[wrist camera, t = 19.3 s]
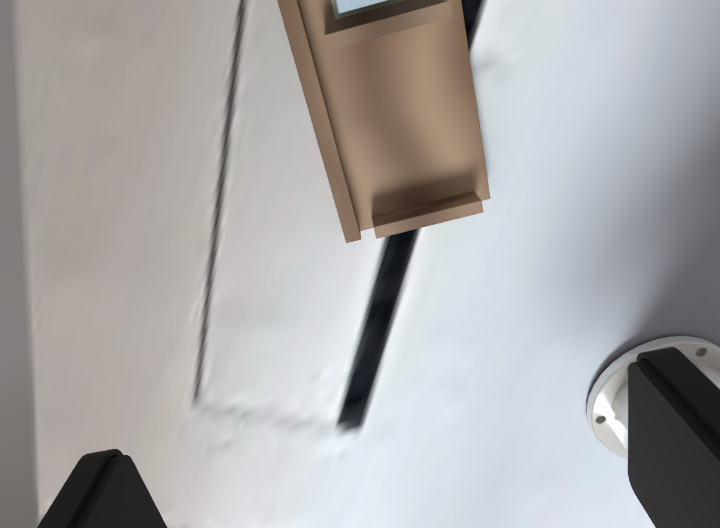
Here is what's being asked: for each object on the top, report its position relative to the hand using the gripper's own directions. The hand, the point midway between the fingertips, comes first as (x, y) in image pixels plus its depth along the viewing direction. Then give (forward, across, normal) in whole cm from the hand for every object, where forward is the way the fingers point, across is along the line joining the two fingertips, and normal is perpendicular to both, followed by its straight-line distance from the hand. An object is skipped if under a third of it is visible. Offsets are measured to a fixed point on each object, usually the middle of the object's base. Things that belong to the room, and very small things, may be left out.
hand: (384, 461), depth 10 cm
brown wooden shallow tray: (+27, -3, -7) cm, 28 cm away
